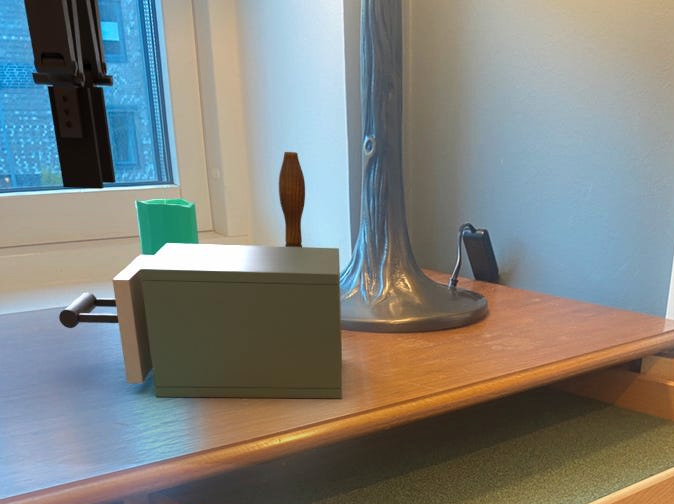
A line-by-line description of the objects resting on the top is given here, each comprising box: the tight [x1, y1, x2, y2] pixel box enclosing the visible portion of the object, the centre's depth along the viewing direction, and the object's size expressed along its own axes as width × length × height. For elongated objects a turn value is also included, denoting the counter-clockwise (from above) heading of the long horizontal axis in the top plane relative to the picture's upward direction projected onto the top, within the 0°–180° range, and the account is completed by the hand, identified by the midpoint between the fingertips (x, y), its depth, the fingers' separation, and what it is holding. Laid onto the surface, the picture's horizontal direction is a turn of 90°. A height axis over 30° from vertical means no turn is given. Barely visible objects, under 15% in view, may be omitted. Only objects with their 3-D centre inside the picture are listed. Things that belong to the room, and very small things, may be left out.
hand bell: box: [278, 151, 306, 247], centre depth 97 cm, size 8×8×16 cm
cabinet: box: [140, 243, 343, 399], centre depth 80 cm, size 15×13×10 cm
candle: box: [134, 184, 200, 255], centre depth 102 cm, size 6×6×12 cm
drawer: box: [58, 254, 154, 384], centre depth 79 cm, size 18×11×8 cm, turn 97°
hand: (90, 183), depth 73 cm, fingers open, 4 cm apart
